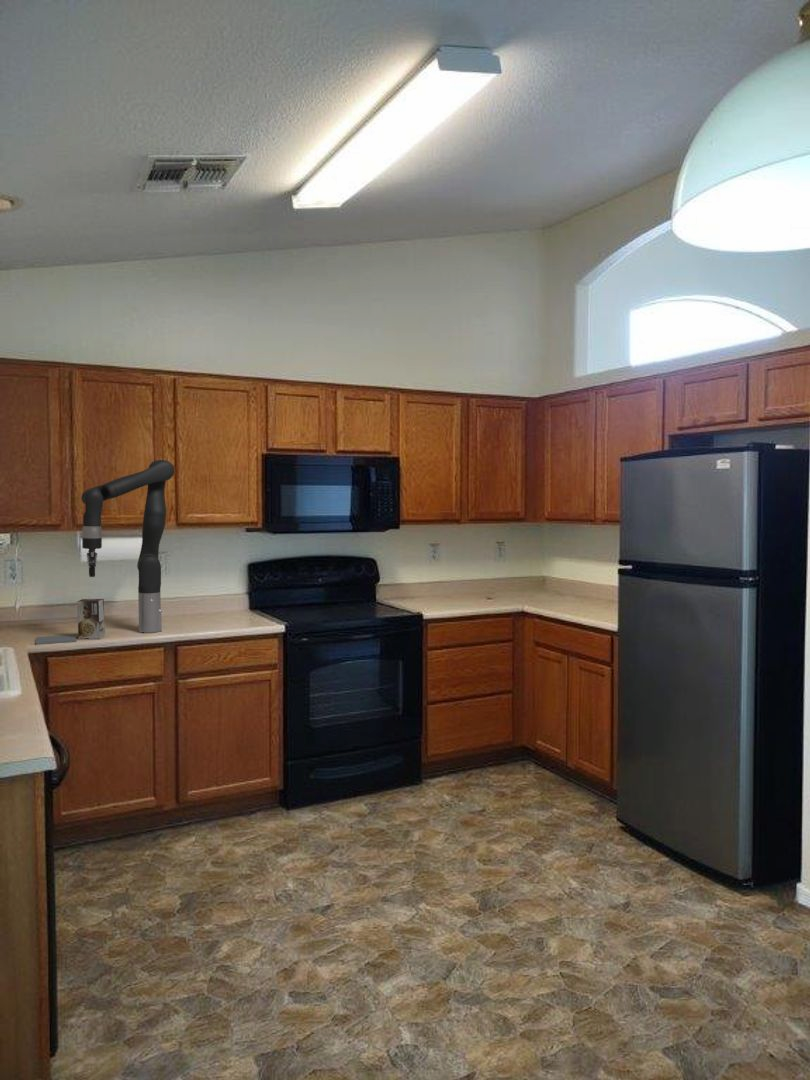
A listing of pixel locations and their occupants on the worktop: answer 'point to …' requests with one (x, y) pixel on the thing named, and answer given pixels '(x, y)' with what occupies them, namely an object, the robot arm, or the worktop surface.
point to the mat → (55, 639)
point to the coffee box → (91, 618)
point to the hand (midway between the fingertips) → (91, 575)
